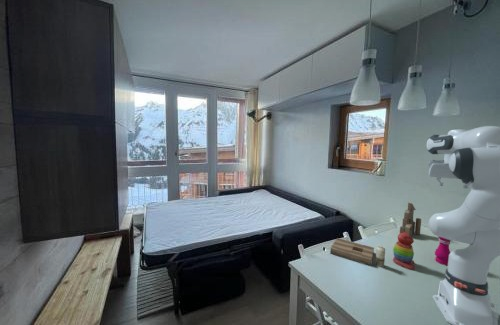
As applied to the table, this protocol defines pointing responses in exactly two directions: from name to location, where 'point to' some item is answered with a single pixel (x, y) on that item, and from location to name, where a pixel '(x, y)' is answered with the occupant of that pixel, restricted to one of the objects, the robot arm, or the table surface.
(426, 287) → the table surface
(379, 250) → the peg
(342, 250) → the board
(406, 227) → the wooden toy
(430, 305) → the table surface
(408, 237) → the stacking bear
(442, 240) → the pepper mill
